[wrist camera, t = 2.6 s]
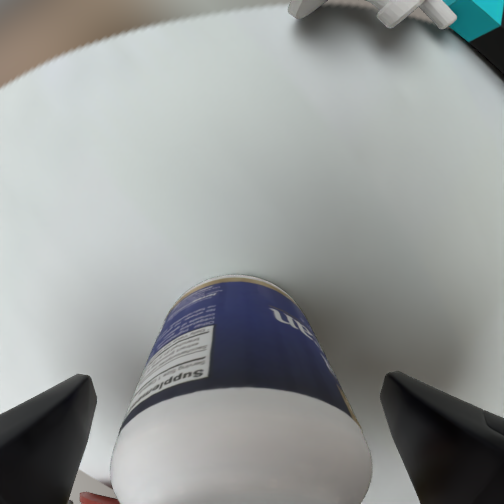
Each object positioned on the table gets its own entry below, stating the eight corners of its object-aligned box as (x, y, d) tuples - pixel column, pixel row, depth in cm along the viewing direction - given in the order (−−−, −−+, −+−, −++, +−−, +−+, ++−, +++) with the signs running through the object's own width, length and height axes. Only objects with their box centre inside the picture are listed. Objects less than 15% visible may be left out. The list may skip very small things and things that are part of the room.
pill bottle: (333, 340, 12) (455, 562, 2) (231, 412, 13) (241, 628, 3) (242, 238, 11) (296, 553, 1) (136, 331, 11) (27, 568, 2)
